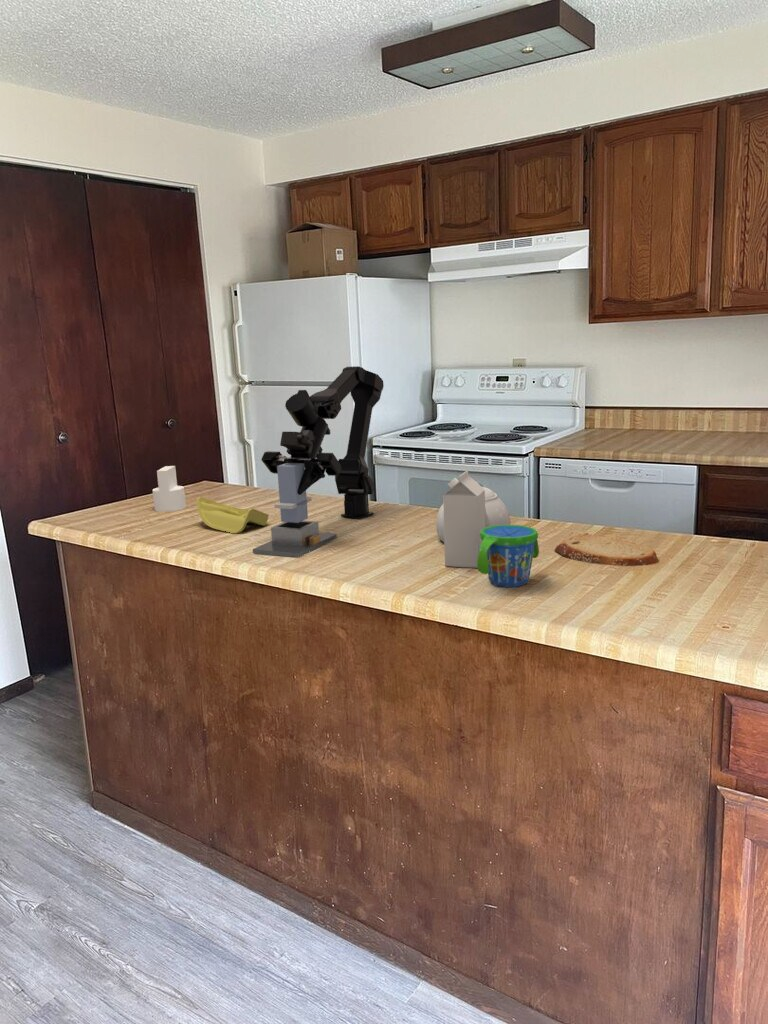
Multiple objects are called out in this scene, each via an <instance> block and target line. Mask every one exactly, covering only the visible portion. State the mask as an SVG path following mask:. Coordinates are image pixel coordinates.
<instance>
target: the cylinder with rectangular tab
mask: <svg viewBox="0 0 768 1024" xmlns="http://www.w3.org/2000/svg"><path fill="white" fill-rule="evenodd" d="M156 476H157V485H158V487H156V488H153V489H152V497H153V507H154V511H156V512H159V513H161V512H162V513H163V512H164V513H166V512H169V513H170V512H176V511H181V510H185V509H186V508H187V505H186V504H187V503H186V495H185V487H184V486H182V485H178V480H177V470H176V465H169V466H168V465H165V466H163V467H161V468H160V469H158V470H156Z"/></svg>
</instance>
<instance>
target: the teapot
mask: <svg viewBox="0 0 768 1024" xmlns="http://www.w3.org/2000/svg"><path fill="white" fill-rule="evenodd" d="M476 482H477V481H476ZM477 483H478V484H479V485H480V483H479V482H477ZM481 487H482V488H484V489H485V528H486V527H490V526H497V525H511V517H510V513H509V510H508V508H507V506H506V504H505V503H504V502H503V501H502V500H501V498H499V496H498V494H497V493H495V492H494V491H493V490H492V489H491V488H488V487H485V486H481ZM435 521H436V522H435V525H436V526H435V527H436V534H437V537H438V538H439V540H440V541H441V542H443V543H444V508H443V503H442V504H441V506H440V508H439V509H438V512H437V515H436V520H435Z"/></svg>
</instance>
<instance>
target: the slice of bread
mask: <svg viewBox="0 0 768 1024" xmlns="http://www.w3.org/2000/svg"><path fill="white" fill-rule="evenodd" d="M554 552H555V553H557V554H558V555H560V556H561V557H564V558H566V559H569V560H573V561H576V562H577V561H578V562H583V563H588V564H598V565H604V566H617V567H620V566H621V567H625V566H626V567H636V566H637V567H638V566H649V565H654V564H656V563H659V557H658V556H657V553H656V550H654V549H653V548H652V547H649V546H646V545H643V544H640V543H635V542H634V541H629V540H623V539H618V538H613V537H606V536H600V535H596V534H592V533H588V532H585V533H583V534H580V533H579V534H578V535H574V536H571V537H569V538H568V539H565V540H563V541H562V542H560V543H559V544H557V545H556V546H555V549H554Z"/></svg>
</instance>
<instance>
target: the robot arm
mask: <svg viewBox="0 0 768 1024" xmlns="http://www.w3.org/2000/svg"><path fill="white" fill-rule="evenodd" d="M341 371H342V372H341V373H340V374H339V375H338V376H337V377H336V378H335V379H334V380H332V382H330V384H329V385H328V386H327V387H326V389H323V390H320V391H317V392H314V393H313V394H311V395H309V393H308V391H307V390H306V389H298V391H297V393H295V394H292V395H291V396H290V397H289V398H288V399H287V400H286V401H285V405H284V406H285V409H286V410H287V412H288V413H289V415H290V416H291V418H292V420H293V422H295V424H296V425H297V426H299V427H301V429H300V431H281V438H280V444H279V446H281V447H284V448H286V453H287V455H290V456H289V457H288V456H285V455H283V454H282V453H281V451H272V450H271V451H269V450H267V451H264V452H263V454H262V456H261V459H260V460H261V461H262V463H263V464H264V465H265V467H266V468H267V469H268V471H269V472H270V473H272V474H277V475H278V471H277V466H279V465H282V464H285V463H304V467H305V471H304V474H303V477H302V479H301V482H300V485H299V488H298V492H297V493H298V494H299V495H301V494H302V493H303V492H304V491H306V492H307V490H308V489H309V488H311V486H312V485H314V484H315V483H317V482H318V481H320V480H321V479H324V478H326V474H327V476H330V477H331V476H332V477H333V476H334V481H335V485H336V486H335V487H336V489H337V493H338V495H344V501H343V504H344V505H343V506H344V509H343V510H344V513H341V514H340V517H344V518H352V519H358V520H359V519H362V518H365V517H369V516H371V515H374V512H373V511H370V510H369V509H370V507H369V495H373V494H374V491H375V483H374V481H373V480H372V478H371V477H370V475H369V471H370V469H369V467H368V464H367V462H366V460H365V457H366V449H367V445H368V444H367V443H368V439H369V432H370V426H371V419H372V413H373V409H374V407H375V405H377V403H378V402H379V401H380V400H381V396H382V392H383V390H384V385H385V384H384V381H383V378H381V376H380V375H379V374H377V373H375V372H371V371H369V370H367V369H365V368H363V367H361V366H346V367H343V369H342V370H341ZM349 394H350V396H351V397H352V398H351V399H352V400H353V403H354V408H353V413H352V419H351V425H350V426H351V427H350V430H349V437H348V442H347V450H346V453H345V454H346V455H345V456H344V457H343V458H339V459H337V457H336V456H335V454H334V453H333V452H323V450H324V449H323V448H322V444H323V441H324V438H325V436H327V435H328V436H330V435H331V429H330V428H329V424H328V423H327V422H326V420H334V419H336V418H337V417H338V415H339V413H340V411H341V410H342V406H341V405H342V404H341V403H342V402H343V400H345V399H346V398H347V396H348V395H349ZM325 473H326V474H325Z"/></svg>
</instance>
